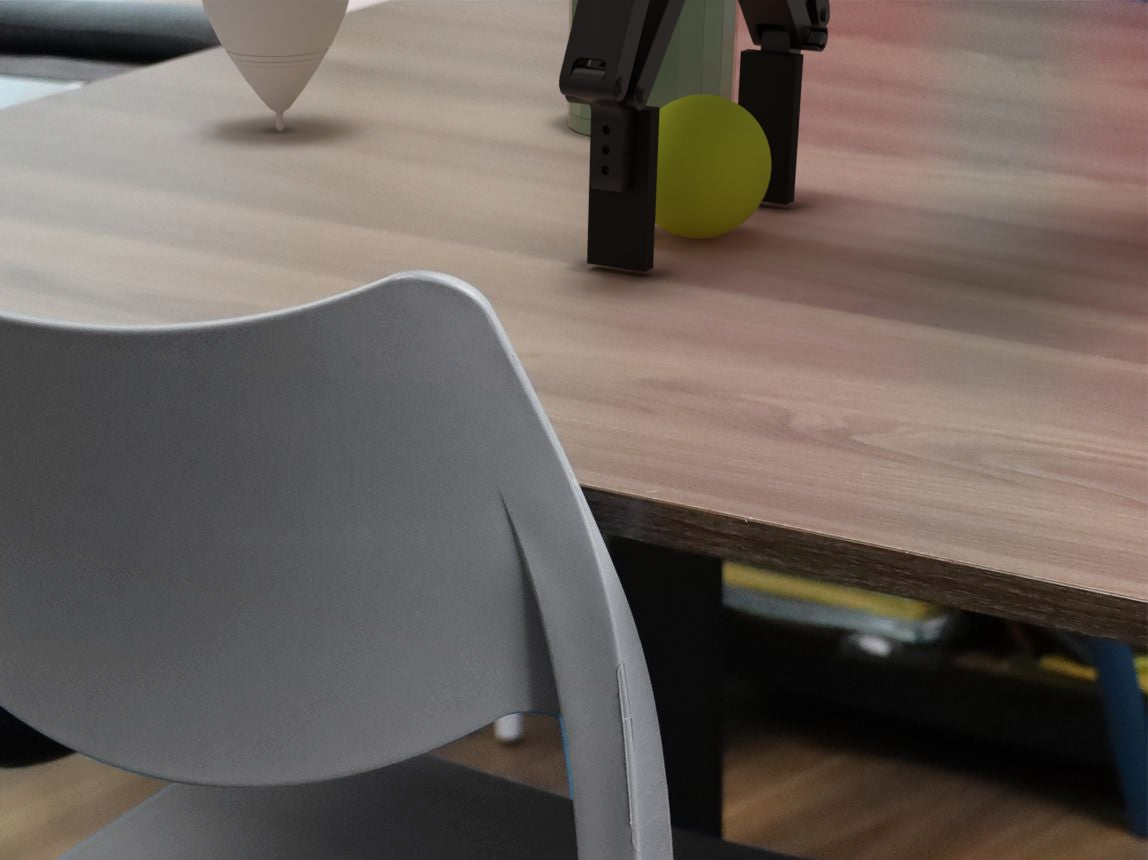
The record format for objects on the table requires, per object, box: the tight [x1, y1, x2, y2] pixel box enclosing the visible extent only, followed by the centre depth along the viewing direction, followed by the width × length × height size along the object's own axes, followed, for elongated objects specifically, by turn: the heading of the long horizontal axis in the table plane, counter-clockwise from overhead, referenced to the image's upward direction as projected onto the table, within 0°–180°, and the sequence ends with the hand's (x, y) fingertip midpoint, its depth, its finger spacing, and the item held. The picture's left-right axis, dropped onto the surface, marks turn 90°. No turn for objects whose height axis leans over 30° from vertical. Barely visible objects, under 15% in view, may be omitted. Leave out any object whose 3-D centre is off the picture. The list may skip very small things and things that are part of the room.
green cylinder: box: [566, 0, 740, 137], centre depth 120 cm, size 9×9×11 cm
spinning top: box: [201, 0, 350, 132], centre depth 120 cm, size 8×8×12 cm
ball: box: [655, 94, 771, 240], centre depth 100 cm, size 6×6×6 cm
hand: (695, 232), depth 101 cm, fingers open, 13 cm apart
